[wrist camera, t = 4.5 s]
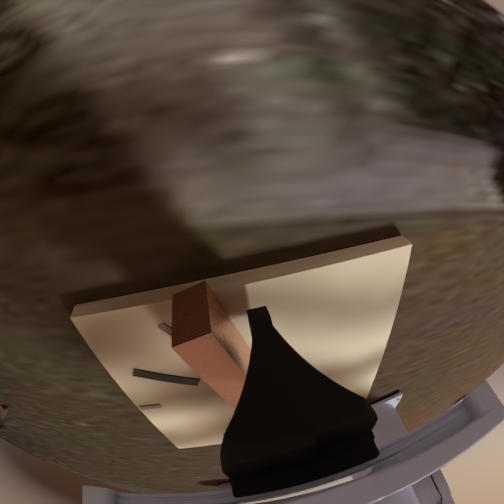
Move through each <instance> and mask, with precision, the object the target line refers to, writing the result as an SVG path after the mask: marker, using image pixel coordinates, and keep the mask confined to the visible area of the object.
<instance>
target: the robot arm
mask: <svg viewBox="0 0 504 504" xmlns="http://www.w3.org/2000/svg"><path fill="white" fill-rule="evenodd" d="M246 311H247V316H248V321H249V326H250V331H251V336H252V346H251V353H250V360H249V365H248V370H247V374H246V379H245V382H244V386H243V389H242V392H241V395H240V398H239V401H238V404H237V406H236V409H235V411H234V414H233V416H232V419H231V421H230V423H229V425H228V427H227V429H226V431H225V433H224V435H223V441H222V446H221V453H220V460H221V466H222V471H223V473H224V474H225V475H226V476H227V477H228V478H229V479H230V482H231V487H232V489H228V490H220V491H211V492H200V493H185V494H131V493H117V492H116V491H114V490H111V489H108V488H103V487H95V486H87V485H84V486H83V504H242V503H249V502H255V501H260V500H265V499H270V498H275V497H280V496H284V495H288V494H292V493H296V492H300V491H304V490H307V489H311V488H314V487H317V486H321V485H324V484H327V483H330V482H333V481H336V480H339V479H342V478H344V477H347V476H350V475H351V477H352V478H353V480H352V481H349V482H346V483H343V484H340V485H337V486H334V487H331V488H328V489H325V490H322V491H319V492H316V493H312V494H308V495H305V496H302V497H298V498H295V499H291V500H287V501H283V502H279V503H275V504H455V503H454V501H453V499H452V496H451V492H450V489H449V486H448V484H447V482H446V480H445V478H444V476H443V474H442V472H441V470H440V469H441V468H442V467H444V466H445V465H447V464H448V463H450V462H451V461H453V460H454V459H456V458H457V457H459V456H460V455H461V454H463V453H464V452H466V451H467V450H468V449H470V448H471V447H472V446H474V445H475V444H476V443H477V442H479V441H480V440H481V439H482V438H484V437H485V436H486V435H487V434H489V433H490V432H491V431H492V430H493V429H494V428H495V427H497V426H498V424H500V423H501V422H502V421H503V420H504V406H503V405H502V403H501V401H500V400H499V399H498V397H497V395H496V394H495V392H494V391H493V389H492V388H491V387H490V385H489V384H488V382H487V381H484V382H482V383H481V384H480V385H478V386H477V387H475V388H474V389H473V390H471V391H470V392H469V393H468V394H467V395H466V396H465V397H464V399H463V401H462V402H460V403H458V404H457V405H455V406H454V407H452V408H451V409H449V410H448V411H446V412H444V413H443V414H441V415H439V416H438V417H436V418H434V419H433V420H431V421H429V422H427V423H426V424H424V425H422V426H420V427H418V428H417V429H415V430H413V431H411V432H409V433H407V431H406V429H405V427H404V425H403V424H402V422H401V420H400V418H399V416H398V414H397V412H396V410H395V407H396V406H397V404H398V402H399V401H400V399H401V397H402V395H403V394H402V393H401V392H399V393H397V394H395V395H393V396H391V397H388V398H386V399H384V400H381V401H379V402H377V403H374V404H372V405H370V403H369V402H368V401H367V400H366V399H365V398H364V397H362V396H360V395H358V394H356V393H354V392H352V391H350V390H348V389H346V388H345V387H343V386H341V385H340V384H338V383H336V382H335V381H333V380H332V379H330V378H329V377H327V376H326V375H324V374H323V373H321V372H320V371H319V370H317V369H316V368H315V367H313V366H312V365H311V364H310V363H309V362H307V361H306V360H305V359H304V358H303V357H302V356H301V355H299V354H298V353H297V352H296V351H295V350H294V349H293V348H292V347H291V346H290V345H289V344H288V342H287V341H286V340H285V339H284V338H283V337H282V336H281V334H280V333H279V332H278V331H277V330H276V328H275V327H274V326H273V324H272V320H271V316H270V314H269V311H268V309H267V307H266V306H262V307H258V308H253V309H249V310H246ZM430 475H431V477H430ZM438 492H439V493H438ZM439 494H440V496H441V498H440V496H439Z"/></svg>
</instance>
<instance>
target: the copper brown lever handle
mask: <svg viewBox="0 0 504 504" xmlns="http://www.w3.org/2000/svg"><path fill="white" fill-rule="evenodd" d="M171 348H172V349H173V350H174V351H175V352H176V353H177V354H178V355H179V356H180V357H181V358H182V359H183V360H184V361H185V362H186V363H187V364H188V365H189V366H190V367H191V368H192V369H193V370H194V371H195V372H196V373H197V374H198V375H199V376H200V377H201V378H202V379H203V380H204V381H205V382H206V383H207V384H208V385H209V386H210V387H211V388H212V389H213V390H215V391H216V392H217V393H218V394H219V395H220V396H221V397H222V398H223V399H224V400H226V401H227V402H228V403H229V404H230V405H231V406H232V407H233V408H235V409H236V406H237V404H238V401H239V398H240V395H241V392H242V389H243V386H244V382H245V379H246V374H247V370H248V365H249V360H250V353H251V349H250V347H249V346H248V344H247V343H246V342H245V340H244V339H243V337H242V336H241V334H240V333H239V331H238V330H237V328H236V327H235V325H234V324H233V322H232V321H231V319H230V318H229V316H228V315H227V313H226V312H225V310H224V308H223V307H222V305H221V304H220V302H219V301H218V299H217V298H216V296H215V295H214V293H213V291H212V290H211V288H210V287H209V285H208V284H207V282H206V280H205V281H203V282H201V283H198V284H196V285H194V286H191V287H189V288H187V289H184V290H182V291H180V292H177V293H175V294H173V295H172V345H171Z"/></svg>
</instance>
